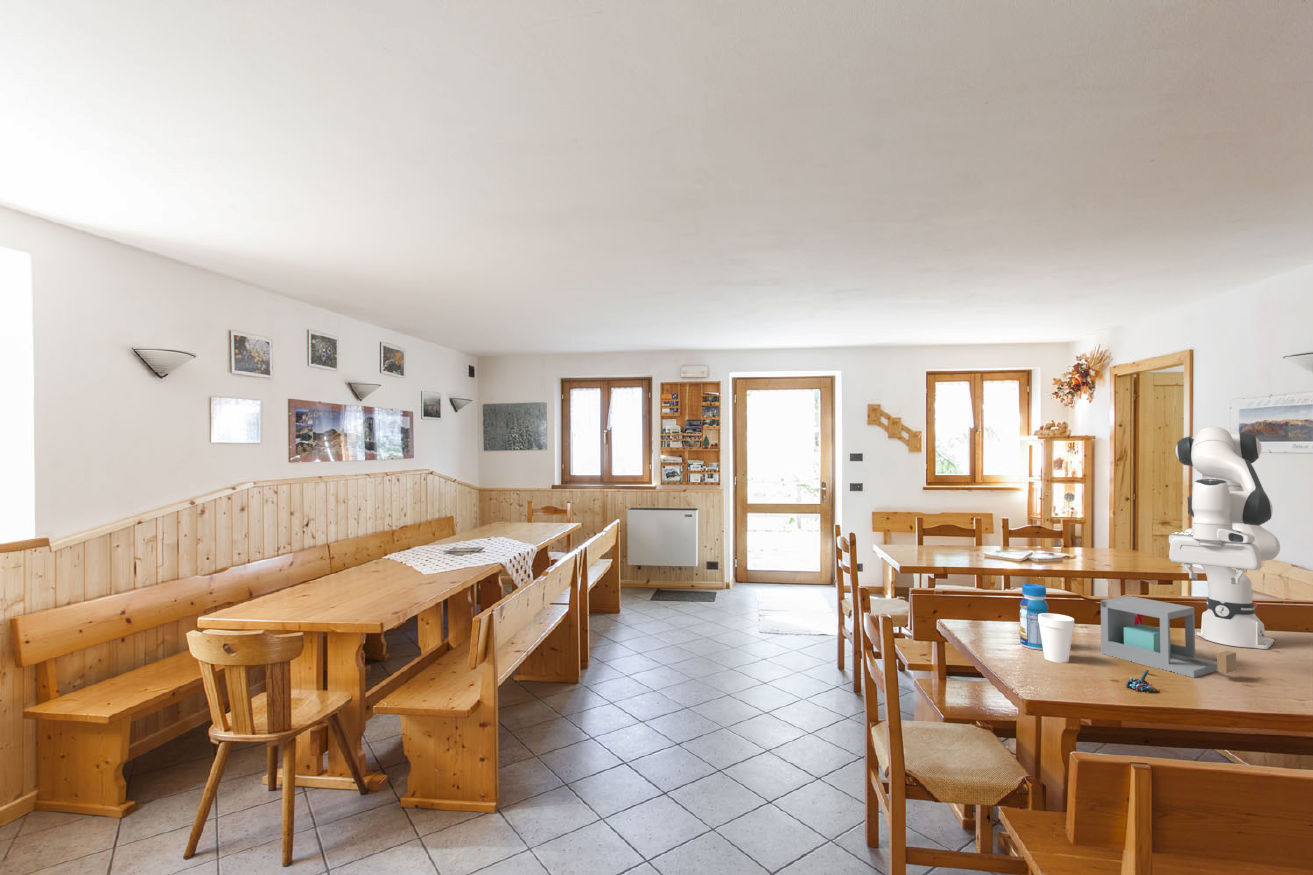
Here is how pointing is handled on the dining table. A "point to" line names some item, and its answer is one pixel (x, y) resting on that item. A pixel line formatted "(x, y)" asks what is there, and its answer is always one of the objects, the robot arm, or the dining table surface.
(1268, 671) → the dining table surface
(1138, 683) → the blue bumpy stemmed lump
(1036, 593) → the beverage bottle
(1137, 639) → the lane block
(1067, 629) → the foam cup
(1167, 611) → the shelf lane
